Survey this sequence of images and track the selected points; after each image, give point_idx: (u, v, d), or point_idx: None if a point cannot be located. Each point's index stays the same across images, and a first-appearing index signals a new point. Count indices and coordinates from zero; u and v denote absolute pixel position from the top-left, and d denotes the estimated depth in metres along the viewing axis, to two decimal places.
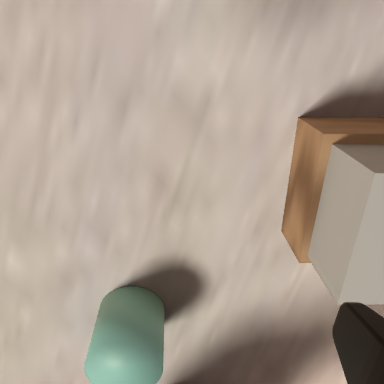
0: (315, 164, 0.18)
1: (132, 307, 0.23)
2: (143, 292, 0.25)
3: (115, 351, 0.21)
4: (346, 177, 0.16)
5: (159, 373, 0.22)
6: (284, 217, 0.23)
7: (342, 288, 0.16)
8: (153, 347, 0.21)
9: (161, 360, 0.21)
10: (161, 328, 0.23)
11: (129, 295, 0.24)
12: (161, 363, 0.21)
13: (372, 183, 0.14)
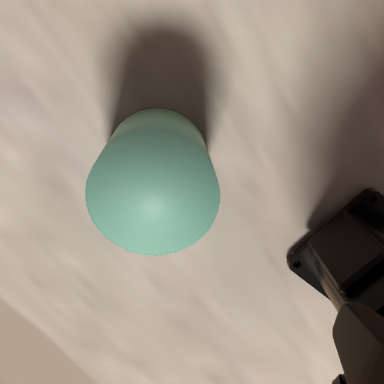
0: None
1: (117, 131, 0.14)
2: (133, 115, 0.16)
3: (110, 181, 0.12)
4: None
5: (204, 165, 0.12)
6: None
7: None
8: (153, 132, 0.12)
9: (184, 142, 0.12)
10: (176, 123, 0.14)
11: (115, 130, 0.15)
12: (188, 145, 0.12)
13: None
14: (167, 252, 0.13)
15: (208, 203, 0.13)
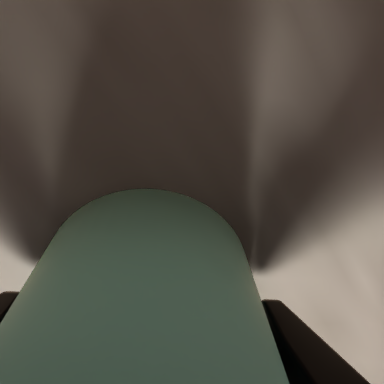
0: None
1: (39, 272, 0.06)
2: (90, 209, 0.07)
3: None
4: None
5: None
6: None
7: None
8: None
9: None
10: (189, 263, 0.05)
11: (49, 247, 0.07)
12: None
13: None
14: None
15: None
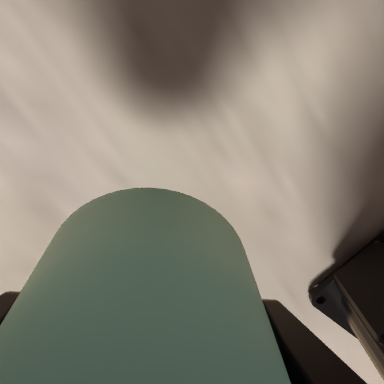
0: None
1: (39, 271, 0.06)
2: (90, 208, 0.07)
3: None
4: None
5: None
6: None
7: None
8: None
9: None
10: (190, 263, 0.05)
11: (50, 246, 0.07)
12: None
13: None
14: None
15: None
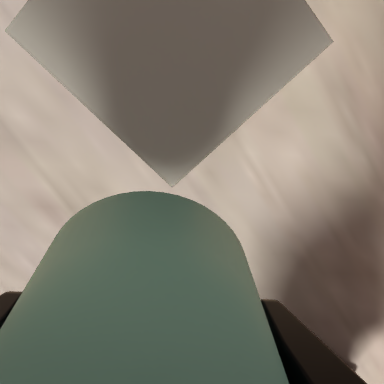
0: None
1: (39, 276, 0.06)
2: (90, 212, 0.07)
3: None
4: None
5: None
6: None
7: (151, 167, 0.12)
8: None
9: None
10: (190, 268, 0.05)
11: (49, 250, 0.07)
12: None
13: (17, 42, 0.10)
14: None
15: None
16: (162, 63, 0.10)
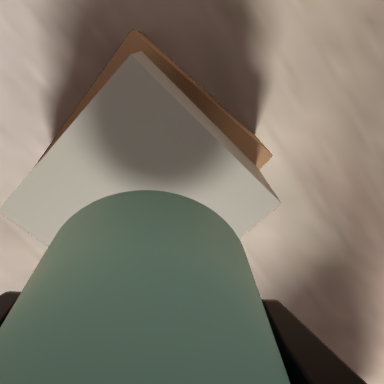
0: None
1: (38, 275, 0.06)
2: (90, 211, 0.07)
3: None
4: None
5: None
6: None
7: None
8: None
9: None
10: (190, 266, 0.05)
11: (49, 249, 0.07)
12: None
13: (8, 219, 0.12)
14: None
15: None
16: None
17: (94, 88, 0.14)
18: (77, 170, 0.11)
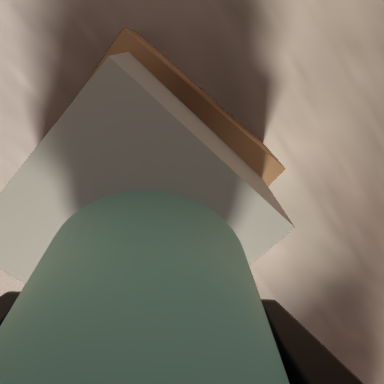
0: None
1: (37, 275, 0.06)
2: (89, 211, 0.07)
3: None
4: None
5: None
6: None
7: None
8: None
9: None
10: (190, 266, 0.05)
11: (48, 249, 0.07)
12: None
13: None
14: None
15: None
16: None
17: None
18: (52, 195, 0.09)
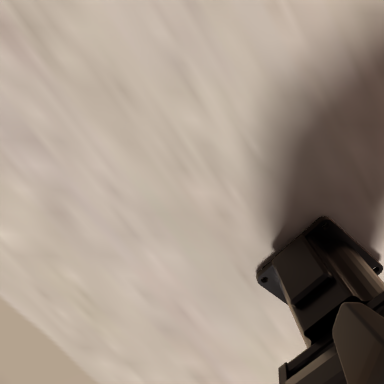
0: None
1: None
2: None
3: None
4: None
5: None
6: None
7: None
8: None
9: None
10: None
11: None
12: None
13: None
14: None
15: None
16: None
17: None
18: None
